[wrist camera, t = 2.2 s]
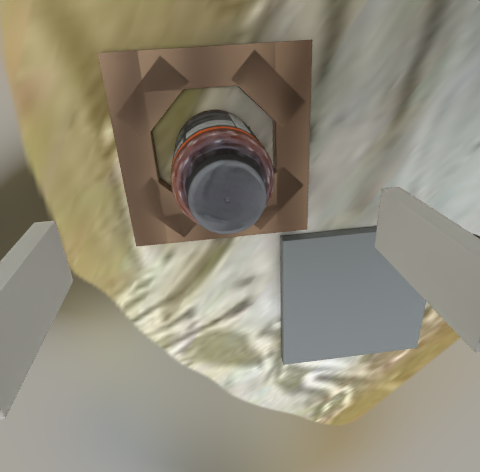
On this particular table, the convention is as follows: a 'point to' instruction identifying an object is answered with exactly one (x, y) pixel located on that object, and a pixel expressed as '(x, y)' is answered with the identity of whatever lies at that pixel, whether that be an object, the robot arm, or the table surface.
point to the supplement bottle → (221, 173)
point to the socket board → (201, 76)
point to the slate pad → (343, 298)
